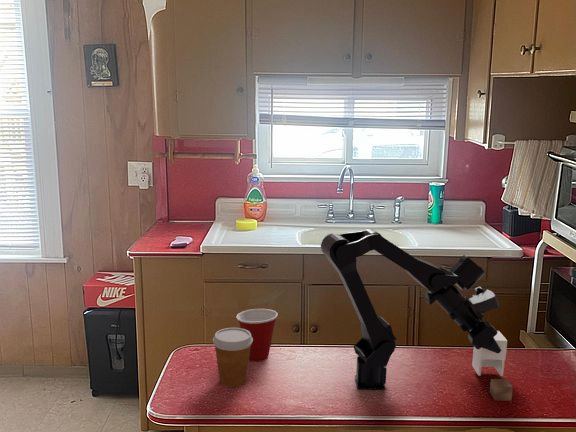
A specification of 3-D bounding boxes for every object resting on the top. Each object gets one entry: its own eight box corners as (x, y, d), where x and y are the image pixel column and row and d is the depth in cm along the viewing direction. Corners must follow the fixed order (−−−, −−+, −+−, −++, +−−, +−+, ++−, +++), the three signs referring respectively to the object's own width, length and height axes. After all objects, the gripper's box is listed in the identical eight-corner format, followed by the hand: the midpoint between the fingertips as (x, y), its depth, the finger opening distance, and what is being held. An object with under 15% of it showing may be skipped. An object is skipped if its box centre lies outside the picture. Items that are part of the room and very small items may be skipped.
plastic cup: (255, 344, 171) (255, 303, 169) (285, 355, 165) (286, 313, 162) (227, 357, 163) (227, 314, 161) (258, 369, 156) (258, 324, 154)
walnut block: (494, 400, 143) (496, 386, 143) (489, 392, 147) (490, 379, 146) (511, 401, 143) (512, 387, 143) (505, 393, 147) (507, 379, 146)
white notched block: (479, 376, 152) (482, 340, 150) (472, 365, 158) (475, 330, 156) (503, 377, 152) (507, 340, 150) (495, 366, 158) (499, 330, 156)
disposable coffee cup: (204, 381, 150) (204, 334, 147) (234, 368, 157) (234, 323, 154) (231, 394, 144) (231, 346, 141) (260, 381, 150) (261, 334, 148)
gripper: (492, 294, 141) (535, 340, 143) (468, 270, 159) (507, 311, 161) (454, 326, 142) (498, 371, 145) (435, 298, 161) (474, 339, 163)
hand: (495, 346), depth 153 cm, fingers closed on white notched block, 6 cm apart
